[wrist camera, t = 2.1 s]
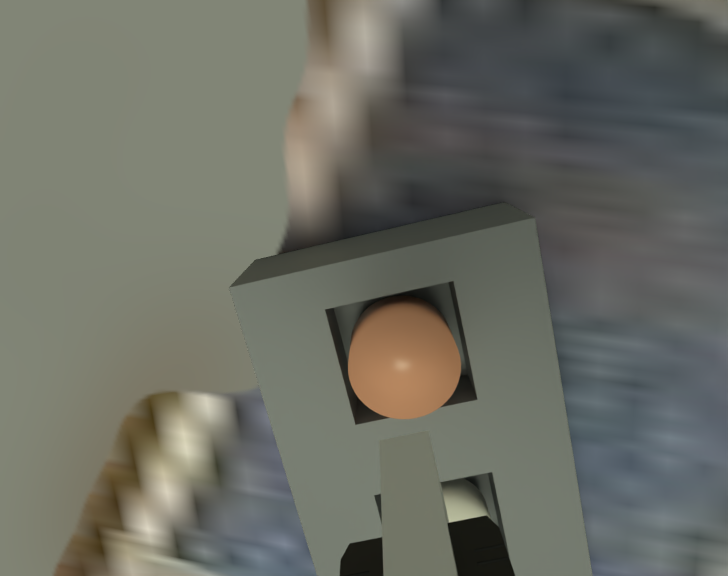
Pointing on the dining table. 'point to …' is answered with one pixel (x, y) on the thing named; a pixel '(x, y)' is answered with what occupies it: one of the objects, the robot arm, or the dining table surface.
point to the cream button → (463, 500)
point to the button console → (449, 422)
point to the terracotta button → (403, 358)
